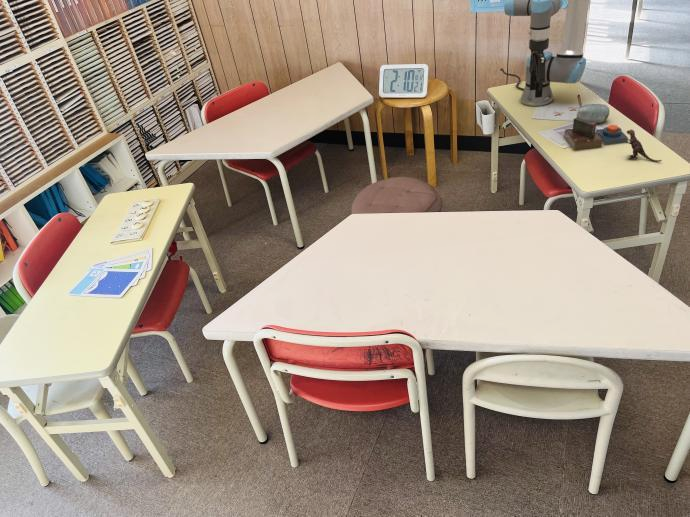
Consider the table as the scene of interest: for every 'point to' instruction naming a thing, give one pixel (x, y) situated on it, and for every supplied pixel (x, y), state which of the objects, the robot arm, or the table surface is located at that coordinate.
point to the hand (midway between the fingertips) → (535, 93)
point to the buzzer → (612, 136)
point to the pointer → (584, 128)
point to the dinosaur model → (637, 147)
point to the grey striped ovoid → (593, 113)
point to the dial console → (582, 140)
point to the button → (612, 128)
